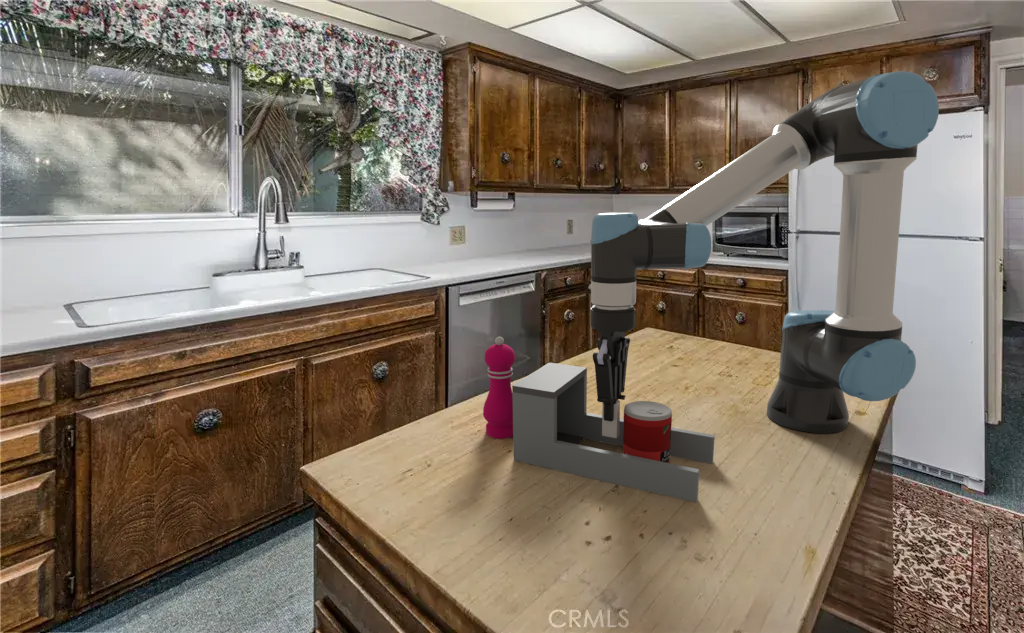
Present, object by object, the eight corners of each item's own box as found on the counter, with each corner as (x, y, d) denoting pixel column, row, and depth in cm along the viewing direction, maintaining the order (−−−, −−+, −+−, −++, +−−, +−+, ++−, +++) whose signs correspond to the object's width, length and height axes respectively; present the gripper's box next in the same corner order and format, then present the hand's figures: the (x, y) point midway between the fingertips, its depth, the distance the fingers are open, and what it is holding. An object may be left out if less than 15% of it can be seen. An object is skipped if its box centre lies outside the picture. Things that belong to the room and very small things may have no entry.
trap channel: (713, 461, 101) (717, 385, 98) (696, 502, 87) (701, 416, 84) (549, 429, 116) (549, 362, 113) (513, 460, 102) (512, 385, 99)
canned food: (670, 480, 94) (673, 418, 92) (622, 476, 96) (623, 415, 93) (667, 459, 102) (670, 401, 99) (622, 456, 103) (624, 399, 101)
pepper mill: (493, 443, 110) (490, 343, 105) (477, 429, 116) (474, 335, 112) (525, 435, 113) (524, 338, 109) (509, 422, 119) (507, 330, 115)
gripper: (604, 297, 103) (603, 419, 108) (577, 310, 92) (577, 445, 97) (645, 300, 100) (641, 425, 105) (622, 314, 88) (619, 454, 93)
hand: (610, 435), depth 101 cm, fingers closed
